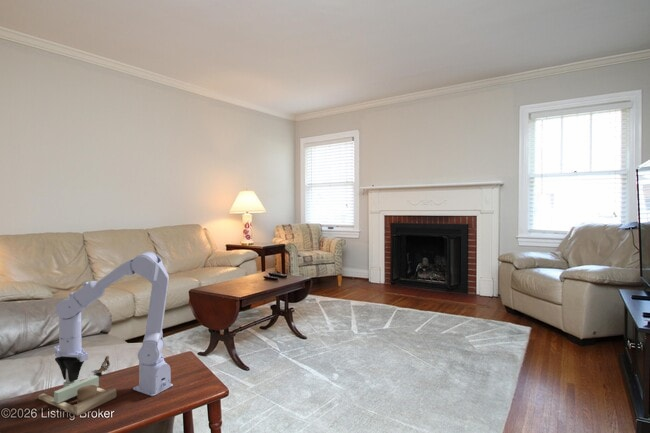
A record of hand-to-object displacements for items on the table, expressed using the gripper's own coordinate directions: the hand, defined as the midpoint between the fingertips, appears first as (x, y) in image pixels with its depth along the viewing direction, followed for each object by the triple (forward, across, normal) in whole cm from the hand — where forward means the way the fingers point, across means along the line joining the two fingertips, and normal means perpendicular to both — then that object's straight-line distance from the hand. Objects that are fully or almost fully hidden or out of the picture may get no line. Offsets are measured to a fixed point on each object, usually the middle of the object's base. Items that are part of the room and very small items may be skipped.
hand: (70, 379), depth 115 cm
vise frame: (+5, +4, 0) cm, 6 cm away
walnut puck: (+5, +8, 0) cm, 10 cm away
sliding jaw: (+4, +2, 0) cm, 4 cm away
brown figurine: (+5, -7, +15) cm, 17 cm away
